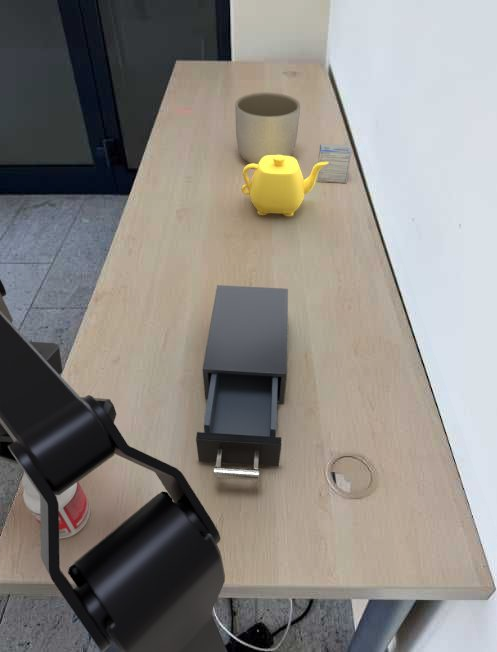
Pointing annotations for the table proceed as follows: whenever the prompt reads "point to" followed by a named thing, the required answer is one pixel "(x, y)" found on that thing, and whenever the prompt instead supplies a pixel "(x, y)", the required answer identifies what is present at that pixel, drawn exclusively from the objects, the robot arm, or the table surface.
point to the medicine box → (334, 163)
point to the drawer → (240, 425)
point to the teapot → (278, 184)
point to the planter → (266, 125)
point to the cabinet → (248, 334)
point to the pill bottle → (61, 507)
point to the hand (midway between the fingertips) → (40, 464)
